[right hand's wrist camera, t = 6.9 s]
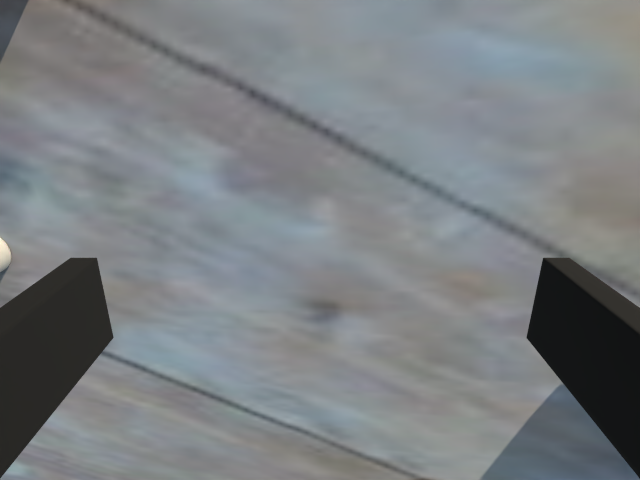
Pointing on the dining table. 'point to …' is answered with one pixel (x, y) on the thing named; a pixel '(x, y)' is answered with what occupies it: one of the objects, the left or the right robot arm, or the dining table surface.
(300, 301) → the dining table surface
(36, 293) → the right robot arm
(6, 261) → the bottle
